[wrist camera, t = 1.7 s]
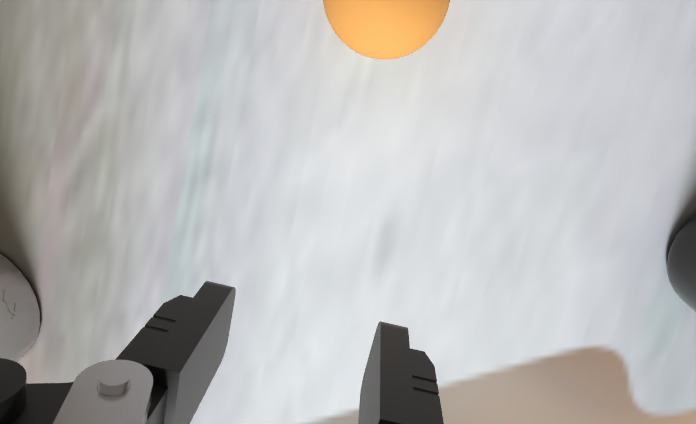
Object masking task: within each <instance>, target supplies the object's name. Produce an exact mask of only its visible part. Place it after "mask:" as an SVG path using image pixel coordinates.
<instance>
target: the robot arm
mask: <svg viewBox="0 0 696 424" xmlns="http://www.w3.org/2000/svg"><path fill="white" fill-rule="evenodd" d="M234 300H235V288H234V287H230V286H226V285H222V284H217V283H213V282H209V281H206V282H205V283H204V284H203V286H202V287H201V288H200V290H199V291H198V292H197V294H196V295H195V296H194V298H191V297H187V296H182V295H180V296H178V297H176V298H174V299H172V300H170V301H168V302H166V303H164V304H163V305H162V306H161V307H160V308H159V309H158V311H157V312H156V313H155V314H154V316H153V318H151V319H150V320H149V321H148V322H147V323H146V325H145V327H143V328H142V329H141V330H140V332H139V333H138V334H137V335H136V336H135V337H134V339H133V340H132V341H131V342H130V343H129V344H128V346H127V347H126V348H125V349H124V350H123V351H122V352H121V354H120V355H119V356H118V357H117V358H116V359H115V360H108V361H103V362H100V363H97V364H94V365H92V366H90V367H88V368H86V369H85V370H83V371H82V372H81V373H80V374H79V375H78V376H77V378H76V379H75V381H74V382H70V383H41V384H26V371H25V369H24V368H23V366H21V365H20V364H19V363H17V361H19V360H20V359H21V358H22V357H23V356H24V355H25V354H26V353H27V352H28V351H29V350H30V349H31V348H32V346H33V344H34V343H35V341H36V339H37V337H38V332H39V327H40V311H39V307H38V303H37V300H36V297H35V295H34V292H33V290H32V288H31V286H30V284H29V283H28V281H27V280H26V279H25V277H24V276H23V275H22V273H21V272H20V270H18V269H17V268H16V267H15V266H14V265H13V264H12V263H11V262H10V261H9V260H8V259H7V258H6V257H4V256H3V255H1V254H0V424H190V422H191V420H192V418H193V416H194V414H195V412H196V410H197V408H198V406H199V404H200V402H201V400H202V398H203V396H204V394H205V393H206V391H207V389H208V387H209V385H210V383H211V381H212V379H213V377H214V375H215V373H216V371H217V369H218V367H219V365H220V363H221V361H222V359H223V356H224V353H225V349H226V346H227V341H228V336H229V330H230V324H231V318H232V312H233V306H234ZM436 382H437V379H436V373H435V367H434V365H433V364H432V362H431V361H430V359H429V358H428V356H427V355H426V354H425V352H423V351H419V350H414V349H410V346H409V335H408V328H406V327H402V326H398V325H393V324H389V323H385V322H379V324H378V326H377V329H376V333H375V336H374V340H373V344H372V347H371V351H370V354H369V358H368V362H367V365H366V369H365V373H364V377H363V382H362V387H361V394H360V408H359V424H444V423H443V417H442V410H441V404H440V398H439V396H438V394H439V392H438V386H437V384H436Z"/></svg>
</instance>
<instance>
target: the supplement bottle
mask: <svg viewBox="0 0 696 424" xmlns="http://www.w3.org/2000/svg"><path fill="white" fill-rule="evenodd" d="M667 271H668V277H669V280H670V283H671V285H672V287H673V289H674V290H675V292H676V293H677V295H678V296H679V297H680V298H681V299H682V300H683V301H684V302H685V303H686V304H688V305H689V306H690V307H691V308H692V309H693V310H694V311H695V312H696V215H695V216H693V217H692V218H691V219H690V220H689V221H688V222H687V223H686V224H685V225H684V226H683V227H682V228H681V229H680V231H679V232H678V234H677V235H676V237H675V238H674V240H673V242H672V245H671V247H670V250H669V254H668V260H667Z"/></svg>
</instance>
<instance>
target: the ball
mask: <svg viewBox="0 0 696 424" xmlns="http://www.w3.org/2000/svg"><path fill="white" fill-rule="evenodd" d="M449 2H450V0H323V4H324V8H325V13H326V15H327V18H328V21H329V23H330V25H331V27H332V29H333V30H334V32H335V33H336V35H337V36H338V37H339V38H340V39H341V41H342V42H343V43H344V44H346V45H347V46H348V47H349V48H351V49H352V50H354V51H355V52H357V53H359V54H361V55H363V56H366V57H370V58H374V59H396V58H400V57H403V56H406V55H409V54H411V53H413V52H415V51H416V50H418V49H419V48H421V47H422V46H423V45H425V44H426V43H427V42H428V41H429V40H430V39H431V38H432V37H433V36H434V34H435V33H436V32H437V30H438V29H439V27H440V26H441V24H442V22H443V20H444V18H445V16H446V13H447V10H448V7H449Z"/></svg>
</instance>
